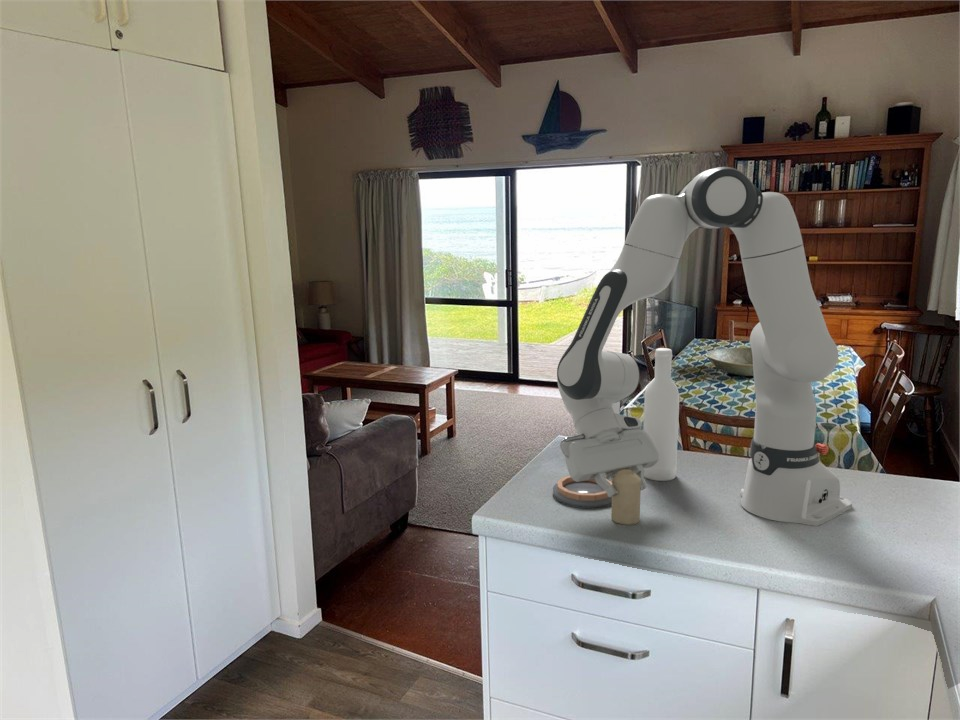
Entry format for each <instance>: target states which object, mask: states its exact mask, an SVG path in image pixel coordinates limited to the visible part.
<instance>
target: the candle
mask: <svg viewBox="0 0 960 720" xmlns="http://www.w3.org/2000/svg"><path fill="white" fill-rule="evenodd" d="M611 482H612V485H616V489H617V490H618V494H617V495H616V496H613V497H612V504H611V515H610V516H611V520H612V521H613V522H614V523H616V524H620V525H627V526H629V525H635V524H638V523H639V522H640V520H641V519H640V518H641V517H640V516H641V513H640V512H641V493H642V490H641V478H640V477H639V476H638V475H637V474H635V473H634V472H633V471H632V470H630V469H626V470H625V469H624V470H621V471H618V473H616V474H615V475H612V480H611Z"/></svg>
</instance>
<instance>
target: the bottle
mask: <svg viewBox="0 0 960 720" xmlns="http://www.w3.org/2000/svg"><path fill="white" fill-rule="evenodd" d="M672 359H673V350H672V349H671V348H667V347H666V348H665V347H659V348H656V349H655V353H654V362H655V363H654V378H653V380H651V381H650V382H649V383H648V384H647V386H646V388H645V391H644V399H643V400H644V405H643V407H644V408H643V430H644V431H646V432H647V433H648V435H649V436H650V438H651V439H652V441H653V443H654V445H655V446H656V448H657V450H658V453H659V460H658V462H657V463H656V464H654V465H653V466H652V467H649V468H644V478H646V479H648V480H652V481H658V482H667V481H668V482H669V481H672V480H674V479H675V478H676V477H677V469H678V464H677V461H678V460H677V459H678V458H677V457H678V441H679V440H678V439H679V438H678V437H679V435H678V434H679V417H680V416H679V415H680V392H679V389H678V386H677V384H676V383H675V382H674V381H673V380H672V364H673V361H672Z"/></svg>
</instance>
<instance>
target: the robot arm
mask: <svg viewBox="0 0 960 720" xmlns="http://www.w3.org/2000/svg"><path fill="white" fill-rule="evenodd" d="M791 204H792V203H791V202H790V200H789V198H788V197H787V196H786V195H784V194H783V193H781V192H776V191H775V192H774V191H766V192H765V191H764V192H762V191H761V190H760V189H759V188H758V187H757V186H756V185H755V184H754V183H753V182H752V181H751V180H750V178H749V177H748V176H747V175H746V174H744V172H742V171H740V170H739V169H737V168H734V167H730V166H719V167H713V168H710V169H706V170H704V171H702V172H700V173H699V174H697V175H696V176H695V177H693V178H692V179H691V180H689V181H688V182H687V183H686V184H685V185H683V187H682V188H681V189H680V190H679V191H678V192H677V193H676V194H674V195H673V194H670V193H669V194H668V193H656V194H652V195H649V196H648V197H646V198H645V199H644V200H643V202H642V203H641V205H640V206H639V208H638V210H637V212H636V214H635V216H634V218H633V221H632V223H631V225H630V227H629V230H628V233H627V235H626V238H625V241H624V244H623V247H622V250H621V252H620V254H619V257H618V258H617V260H616V262H614V263H615V264H614V266H613V267H612V268H611V269H610V270H609V272H607V273H606V274H604V275H603V277H602V278H601V279H600V281H599V282H598V284H597V286H596V288H595V291H594V292H593V295H592V297H591V299H590V301H589V303H588V305H587V307H586V310H585V313H584V315H583V317H582V319H581V320H580V323H579V325H578V328H577V330H576V332H575V335H574V337H573V339H572V340H571V343H570V344H569V346H568V347H567V349H566V350H565V351H564V353H563V355H562V356H561V357H560V360H559V362H558V364H557V369H556V376H557V378H556V379H557V380H556V381H557V388H558V390H559V395H560V398H561V400H562V402H563V404H564V407H565V409H566V411H567V412H568V414H570V416H571V417H572V420H573V427H574V429H575V431H576V435H572V436H565V437H563V439H562V440H561V441H560V443H559V447H560V450H561V453H562V454H563V456H564V460H565V464H566V467H567V471H568V474H569V476H570V477H571V478H572V479H573V480H574V481H576V482H580V481H585V480H590V479H595V480H596V483H597V484H598V485H599V486H601V487H602V488H603V489H604V490H605V491H606V493H607V495H608V497H613V496H616V495H617V494H618V490H617V489H616V485H611V484H610V483H609V482H608V481H607V480H606V479H607V477H610V476H614V475H615V474H616V473H618V471H621V470H624V469H625V470H626V469H630V470H632V471H633V472H634V473H635V474H637V475H638V476H639V477H640V478H641V491H644V490H646V488H647V487H648V486H647V484H646V481H645V477H644V468H649V467H652V466H653V465H654V464H656V463H657V462H658V460H659V453H658V450H657V448H656V446H655V445H654V443H653V441H652V439H651V438H650V436H649V435H648V433H647V432H646V431H644V430H643V429H644V428H643V429H642V427H643V423H642V421H641V419H640V418H639V417H636V416H630V415H624V414H617V413H615V412H614V410H613V408H612V405H613V404H614V403H616V402H619V401H620V402H621V401H623V400H625V399H627V398H628V397H630V396H631V395H632V394H634V392H636V390H637V388H638V386H639V383H640V379H641V373H640V367H639V365H638V362H637V361H636V360H635V359H634V357H633V356H631V355H630V354H628V353H623V352H616V351H615V352H614V351H604V350H603V349H604V347H605V345H606V342H607V340H608V338H609V336H610V334H611V331H612V329H613V328H614V325H615V322H616V321H617V318H618V317H619V316H620V314H621V313H622V311H624V310H625V309H626V308H627V307H629V306H630V305H633V304H634V303H636V302H639V301H641V300H645V299H648V298H651V297H652V298H653V297H654V296H657V295H659V294H660V293H661V292H663V291H664V290H666V289H667V288H668V286H669V285H670V283H671V281H672V280H673V278H674V276H675V275H676V271H677V269H678V264H679V261H680V258H681V255H682V253H683V249H684V245H685V244H686V241H687V240H688V238H689V236H690V234H692V233H693V232H694V231H695V230H696V229H711V230H716V229H720V228H729V229H730V230H731V231H732V233H733V234H734V235H735V237H736V240H737V242H738V247H739V253H740V258H741V264H742V268H743V269H742V270H743V273H744V274H743V275H744V277H745V278H744V279H745V284H746V287H747V293H748V297H749V299H750V302H751V303H752V305H753V308H754V310H755V313H756V315H757V319H758V321H759V322H758V323H757V324H756V325H755V326H754V327H753V328H752V331H750V332H751V333H750V336H749V344H750V348H751V355H752V356H751V357H752V372H753V373H752V374H753V381H754V385H753V386H754V392H755V393H754V394H755V410H754V411H755V414H754V426H753V427H754V429H753V437H752V439H751V440H750V441H751V442H750V445H749V448H750V449H749V450H750V453H749V456H750V459H749V460H748V462H747V463H748V464H747V469H746V474H745V480H744V486H743V487H742V488H741V489H740V493H739V494H740V496H741V499H740V500H741V501H740V505H741V506H742V508H744V509H745V510H746V511H747V512H749V513H751V514H753V515H756V516H758V517H760V518H764V519H767V520H772V521H776V522H783V523H785V522H786V523H796V524H797V523H798V524H799V523H800V524H805V525H809V526H820V525H822V524H824V523H826V522H828V521H829V520H832V519H833V518H836V517H837V516H839V515H842V514H843V513H845V512H847V511H849V510H850V509H852V508H853V502H851V501H850V499H848V498H847V497H845V496H843V495H841V494H840V493H841V484H840V480H839V479H840V478H839V477H838V476H837V475H836V474H835V473H833V472H832V471H831V470H830V469H828V467H826V466H825V465H824V464H823V463H822V462H821V461H820V459H819V458H820V457H819V454H821V455H823V456H825V455H827V454H828V452H829V450H830V449H829V448H830V447H829V446H828V445H827V444H822V443H820V442H817V443H816V444H815V432H816V422H817V412H818V410H817V409H818V408H817V403H816V400H815V397H814V394H813V393H814V392H813V386H812V383H816V382H820V381H823V380H824V379H825V378H827V377H829V376H830V375H831V374H832V373H833V372H834V370H835V368H836V367H837V364H838V362H839V349H838V347H837V346H838V345H836V343H835V341H834V339H833V338H832V336H831V335H830V332H829V330H828V326H827V325H826V324H827V323H826V321H825V318H824V315H823V313H822V309H821V307H820V305H819V302H818V300H817V297H816V295H815V292H814V290H813V286H812V283H811V278H810V273H809V269H808V263H807V258H806V257H807V256H806V253H805V247H804V241H803V237H802V233H801V229H800V226H799V222H798V219H797V216H796V213H795V211H794V208H793V206H792V205H791ZM818 453H819V454H818ZM605 478H606V479H605Z"/></svg>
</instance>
